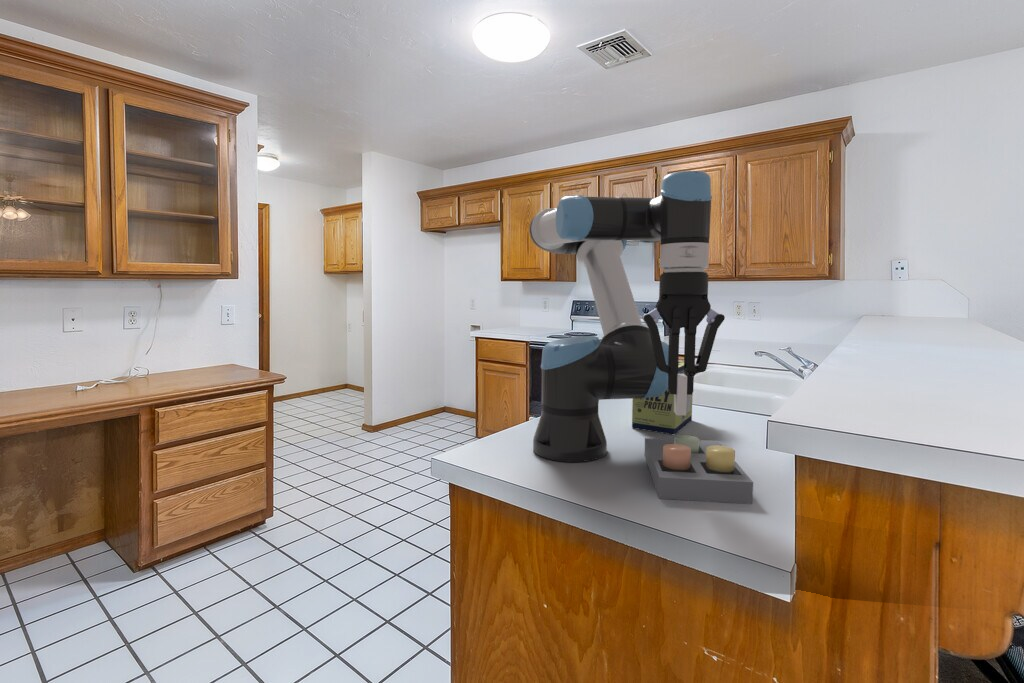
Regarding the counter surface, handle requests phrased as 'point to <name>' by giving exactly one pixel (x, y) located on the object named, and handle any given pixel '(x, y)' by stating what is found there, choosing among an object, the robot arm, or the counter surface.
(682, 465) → the terracotta button
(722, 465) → the mustard button
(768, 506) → the counter surface
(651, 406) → the protein box
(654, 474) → the console
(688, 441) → the sage button
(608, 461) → the counter surface
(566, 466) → the counter surface
